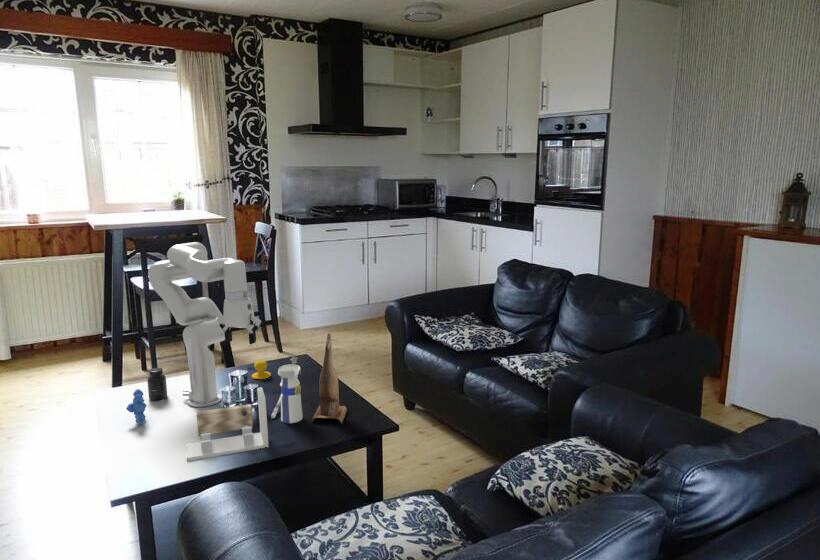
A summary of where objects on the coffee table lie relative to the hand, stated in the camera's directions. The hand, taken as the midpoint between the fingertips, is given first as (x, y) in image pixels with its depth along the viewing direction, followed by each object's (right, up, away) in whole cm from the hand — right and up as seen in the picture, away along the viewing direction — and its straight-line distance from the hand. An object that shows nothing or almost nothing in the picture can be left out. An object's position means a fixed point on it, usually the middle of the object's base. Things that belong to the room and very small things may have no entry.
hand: (240, 342), depth 208 cm
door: (-4, -30, -4) cm, 31 cm away
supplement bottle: (-40, -25, +25) cm, 53 cm away
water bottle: (+18, -28, +4) cm, 33 cm away
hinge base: (+1, -32, -17) cm, 36 cm away
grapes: (-38, -29, +3) cm, 48 cm away
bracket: (+11, -26, +15) cm, 33 cm away
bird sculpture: (+31, -28, +5) cm, 42 cm away
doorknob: (-4, -20, +46) cm, 50 cm away
